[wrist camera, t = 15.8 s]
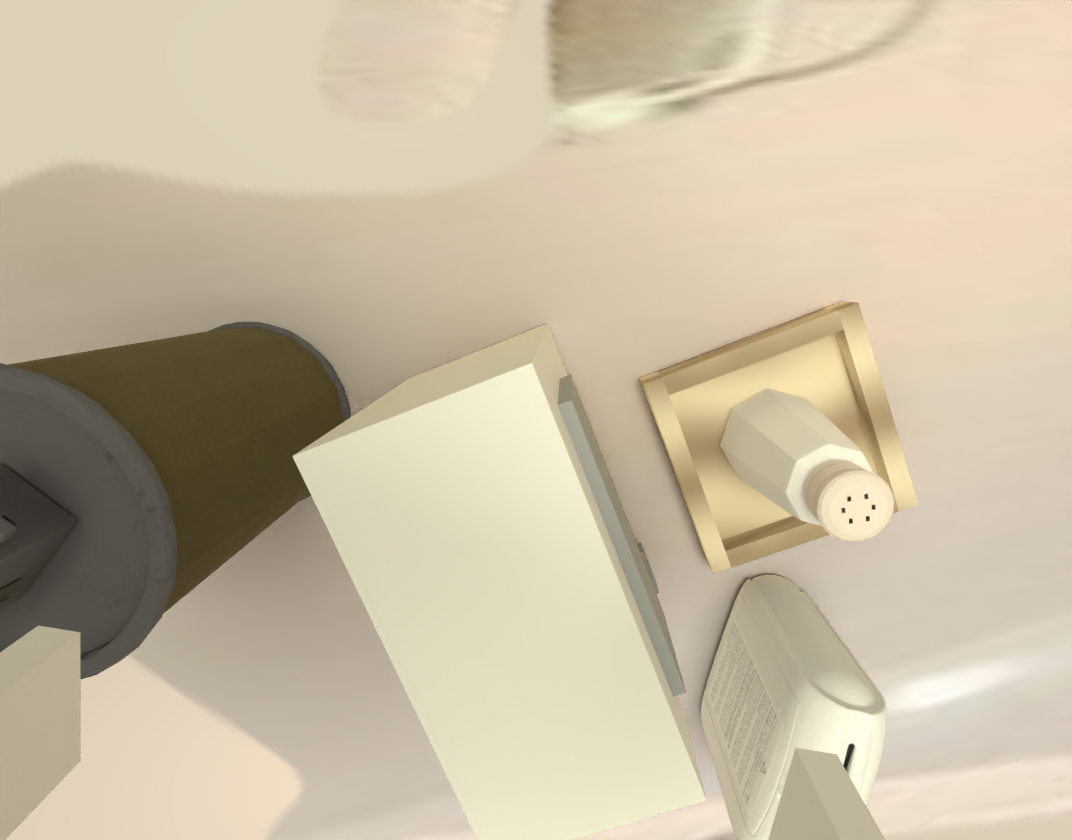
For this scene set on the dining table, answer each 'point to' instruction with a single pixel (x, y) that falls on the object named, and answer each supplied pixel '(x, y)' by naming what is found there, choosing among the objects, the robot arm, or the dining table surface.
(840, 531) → the pepper shaker
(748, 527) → the tray
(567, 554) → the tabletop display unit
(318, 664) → the dining table surface
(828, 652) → the photo printer
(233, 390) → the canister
